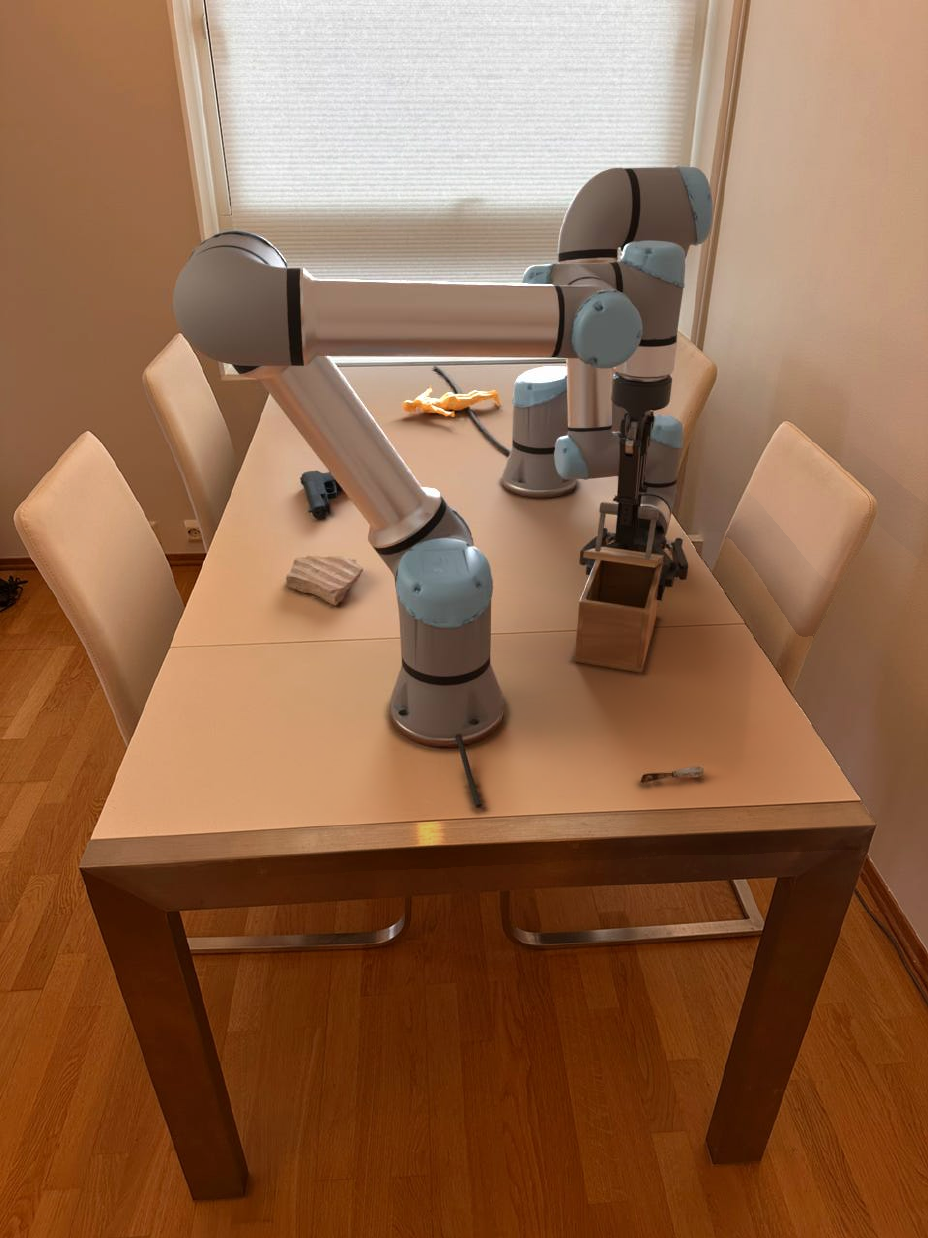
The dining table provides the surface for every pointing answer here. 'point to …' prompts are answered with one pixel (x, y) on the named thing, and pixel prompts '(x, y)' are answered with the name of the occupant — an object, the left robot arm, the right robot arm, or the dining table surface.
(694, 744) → the dining table surface
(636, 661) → the chest
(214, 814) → the dining table surface
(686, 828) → the dining table surface
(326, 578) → the stone
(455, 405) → the human figure
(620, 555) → the lid
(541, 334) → the left robot arm
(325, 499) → the handgun
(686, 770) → the putty knife
